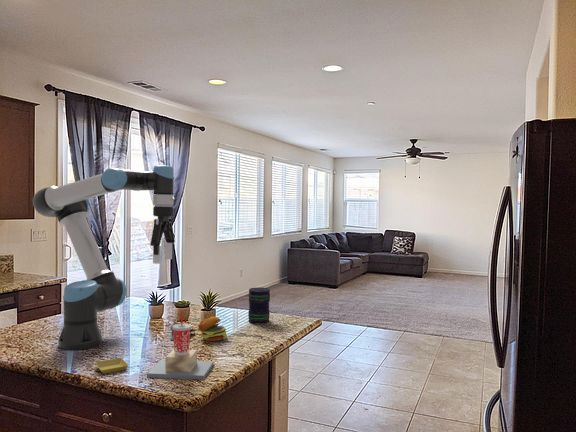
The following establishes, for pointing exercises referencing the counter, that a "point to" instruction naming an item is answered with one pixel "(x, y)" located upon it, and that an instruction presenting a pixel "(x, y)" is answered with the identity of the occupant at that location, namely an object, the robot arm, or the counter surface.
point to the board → (196, 373)
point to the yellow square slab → (112, 365)
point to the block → (181, 361)
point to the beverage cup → (181, 337)
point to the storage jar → (259, 305)
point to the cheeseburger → (212, 329)
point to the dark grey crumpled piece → (172, 331)
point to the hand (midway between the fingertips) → (162, 261)
